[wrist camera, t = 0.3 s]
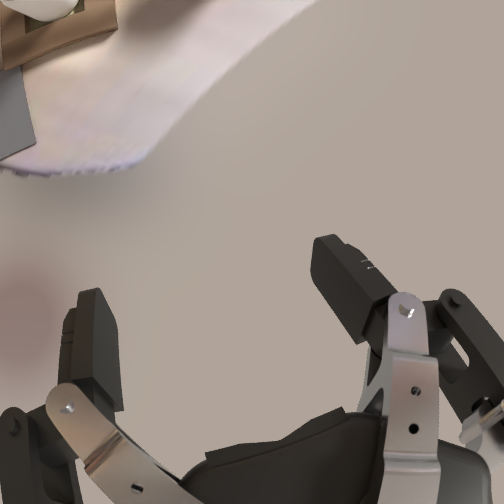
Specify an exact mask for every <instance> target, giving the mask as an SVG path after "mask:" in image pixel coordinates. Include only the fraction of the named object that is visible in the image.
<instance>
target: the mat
mask: <svg viewBox="0 0 504 504" xmlns="http://www.w3.org/2000/svg"><path fill="white" fill-rule="evenodd" d="M34 143H36V138H35V135H34V131H33V127H32V122H31V118H30V114H29V109H28V104H27V99H26V94H25V89H24V83H23V76H22V70H21V65H19V66H17V67H15V68H13V69H11V70H2V71H0V159H2V158H4V157H6V156H8V155H10V154H12V153H15V152H17V151H19V150H21V149H23V148H25V147H28V146H30V145H32V144H34Z"/></svg>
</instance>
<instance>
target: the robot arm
mask: <svg viewBox="0 0 504 504" xmlns="http://www.w3.org/2000/svg"><path fill="white" fill-rule="evenodd" d="M310 272H311V277H312V280H313V282H314V284H315V286H316V287H317V288H318V290H319V291H320V293H321V294H322V296H323V297H324V298H325V300H326V301H327V303H328V304H329V306H330V307H331V309H332V310H333V311H334V313H335V314H336V316H337V317H338V319H339V320H340V322H341V323H342V325H343V326H344V327H345V329H346V330H347V332H348V333H349V335H350V336H351V338H352V339H353V340H354V342H355V344H356V345H357V344H360V343H362V342H364V341H367V342H368V343H369V348H368V353H367V362H366V370H365V378H364V386H363V392H362V395H361V398H360V401H359V404H358V407H357V411H356V412H351V413H345V411H344V409H343V408H342V407H340V408H337V409H335V410H333V411H330V412H328V413H326V414H323V415H321V416H319V417H316V418H314V419H311V420H310V421H309V422H307V423H305V424H304V425H303V426H301V427H300V428H298V429H297V430H295V431H294V432H292V433H291V434H289V435H288V436H286V437H285V438H283V439H281V440H279V441H272V442H259V443H244V444H237V445H234V446H230V447H226V448H222V449H218V450H214V451H210V452H205V456H206V460H204V461H202V462H200V463H199V464H197V465H196V466H195V467H193V468H192V469H191V470H190V471H188V472H187V474H186V475H185V476H184V477H183V478H182V479H180V478H179V477H177V476H176V475H175V474H173V473H172V472H171V471H170V470H168V469H167V468H166V467H164V466H163V465H162V464H161V463H159V462H158V461H157V460H155V459H154V458H153V457H152V456H150V455H149V454H148V453H147V452H146V451H145V450H144V449H142V448H141V447H140V446H139V445H138V444H137V443H136V442H135V441H134V440H133V439H132V438H131V437H130V436H128V435H127V434H126V433H125V432H124V431H123V430H122V429H121V428H120V427H119V426H118V425H117V424H116V423H115V414H114V412H119V411H124V407H123V398H122V389H121V377H120V363H119V346H118V329H117V324H116V320H115V318H114V315H113V313H112V312H111V309H110V307H109V306H108V304H107V301H106V299H105V297H104V295H103V293H102V291H101V290H100V288H94V289H89V290H85V291H81V292H79V294H78V301H77V307H76V308H72V309H70V310H69V312H68V314H67V316H66V318H65V319H64V322H63V330H62V334H63V336H62V338H61V347H60V358H59V370H58V384H57V386H55V387H54V388H53V389H52V390H51V391H50V393H49V395H48V397H47V399H46V404H44V405H42V406H40V407H38V408H36V409H34V410H32V411H30V412H28V413H25V412H23V411H22V410H21V409H19V408H17V407H11V408H8V409H6V410H5V411H4V412H3V413H2V415H1V416H0V484H1V493H2V500H3V504H83V500H82V496H81V492H80V486H79V482H78V476H77V471H76V465H75V459H77V458H80V459H81V460H82V461H83V463H84V464H85V468H84V469H85V472H86V473H87V475H88V476H89V477H90V478H91V480H92V481H93V482H94V483H95V484H96V485H97V486H98V487H99V488H100V489H101V490H102V491H103V492H104V493H105V494H106V495H107V496H108V498H109V499H111V501H112V502H113V503H115V504H493V502H492V494H491V475H492V474H493V473H494V472H495V471H496V470H497V469H498V468H499V467H500V466H501V465H502V464H503V463H504V342H503V340H502V339H501V338H500V337H499V335H498V334H497V333H496V331H495V330H494V329H493V328H492V326H491V325H490V324H489V323H488V321H487V320H486V319H485V318H484V316H483V315H482V314H481V313H480V312H479V310H478V309H477V308H476V307H475V306H474V304H473V303H472V302H471V301H470V300H469V299H468V298H467V296H466V295H465V294H463V293H462V292H460V291H458V290H456V289H446V290H444V291H443V292H442V293H441V295H440V297H439V299H438V300H433V301H421V300H420V299H419V298H418V297H416V296H414V295H413V294H410V293H406V292H398V291H397V290H396V289H395V288H394V287H393V286H392V285H391V283H390V282H389V281H388V280H387V279H386V278H385V277H384V276H383V275H382V273H381V272H380V271H379V270H378V269H377V268H376V267H374V265H373V264H372V263H371V262H370V261H368V259H367V257H366V256H365V255H364V254H363V253H362V252H361V251H360V250H358V249H357V248H355V247H353V246H351V245H350V244H344V243H343V242H342V241H341V240H340V238H339V237H338V236H337V235H335V234H331V235H327V236H322V237H318V238H316V239H315V240H314V243H313V251H312V260H311V268H310ZM454 337H455V339H456V340H457V341H458V342H459V344H460V345H461V346H462V348H463V349H464V351H465V352H466V354H467V355H468V357H469V367H467V365H466V364H465V362H464V361H463V360H462V358H461V356H460V355H459V354H458V352H457V351H456V349H455V348H454V347H453V345H452V344H451V343H450V342H451V341H452V339H453V338H454ZM439 387H440V388H441V390H442V391H443V393H444V395H445V396H446V398H447V400H448V401H449V403H450V405H451V406H452V408H453V409H454V411H455V413H456V415H457V416H458V418H459V419H460V421H461V423H462V432H461V433H460V435H459V440H460V442H461V443H463V444H465V445H466V446H465V447H466V448H464V447H461V446H458V445H455V444H451V443H449V442H446V441H443V440H440V439H438V428H439Z"/></svg>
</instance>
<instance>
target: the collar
mask: <svg viewBox="0 0 504 504" xmlns="http://www.w3.org/2000/svg"><path fill="white" fill-rule="evenodd" d="M84 5H85V10H84V11H81V12H78V13H75V14H73V15H70V16H67V17H64V18H62V19H59V20H57V21H54V22H52V23H49V24H47V25H44V26H42V27H40V28H38V29H35V30H33V31H31V32H30V17H29V16H27V15H25V14H23V13H20V12H18V11H16V10H13V9H11V8H9V7H7V6H5V5H4V4H3V3H2V2H1V0H0V27H1V43H2V54H3V63H4V70H11V69H13V68H15V67H17V66H19V65H22V64H24V63H26V62H28V61H31V60H33V59H35V58H37V57H39V56H42V55H44V54H46V53H49V52H51V51H54V50H56V49H59V48H61V47H64V46H67V45H69V44H72V43H75V42H78V41H81V40H84V39H87V38H90V37H93V36H96V35H99V34H103V33H106V32H110V31H113V30H117V29H118V27H117V17H116V6H115V0H84Z"/></svg>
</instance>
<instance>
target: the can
mask: <svg viewBox="0 0 504 504" xmlns="http://www.w3.org/2000/svg"><path fill="white" fill-rule="evenodd" d="M78 1H79V0H1V2H2V3H3V4H4V5H5V6H7V7H9V8H11V9H13V10H16V11H18V12H20V13H23V14H25V15H27V16H29V17H32V18H34V19H36V20H38V21H41V22H53V21H56V20H59V19H61V18H63V17H64V16H66V15H67V14H68V13H69V12H71V11H72V10H73V8H74V7H75V6H76V5H77V3H78Z"/></svg>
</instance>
